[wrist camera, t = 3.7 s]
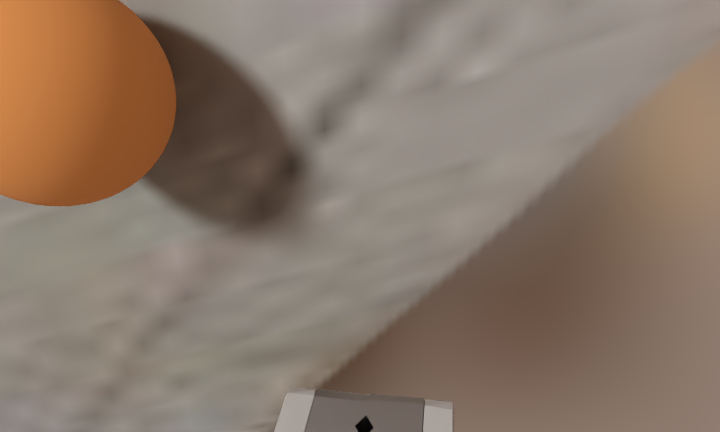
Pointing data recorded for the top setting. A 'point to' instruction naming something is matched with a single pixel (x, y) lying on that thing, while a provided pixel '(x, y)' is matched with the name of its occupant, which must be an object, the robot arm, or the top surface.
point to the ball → (79, 100)
